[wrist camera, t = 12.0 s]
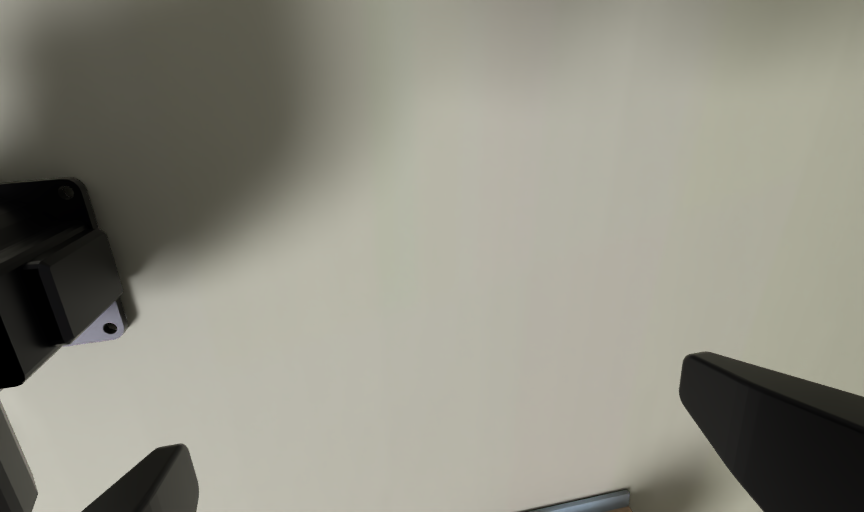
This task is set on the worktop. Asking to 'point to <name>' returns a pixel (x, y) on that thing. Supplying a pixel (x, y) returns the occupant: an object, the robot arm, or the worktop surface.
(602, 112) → the worktop surface
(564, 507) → the blueprint plinth
